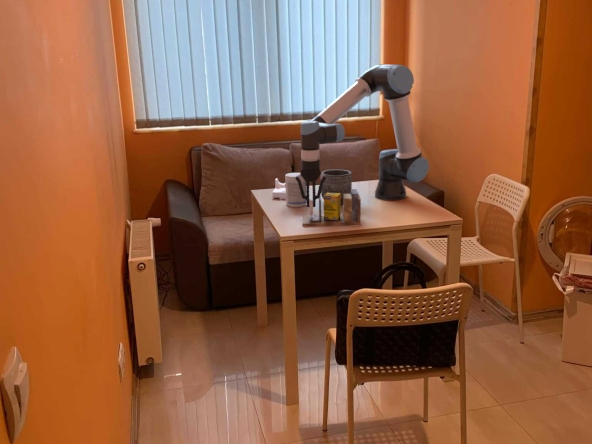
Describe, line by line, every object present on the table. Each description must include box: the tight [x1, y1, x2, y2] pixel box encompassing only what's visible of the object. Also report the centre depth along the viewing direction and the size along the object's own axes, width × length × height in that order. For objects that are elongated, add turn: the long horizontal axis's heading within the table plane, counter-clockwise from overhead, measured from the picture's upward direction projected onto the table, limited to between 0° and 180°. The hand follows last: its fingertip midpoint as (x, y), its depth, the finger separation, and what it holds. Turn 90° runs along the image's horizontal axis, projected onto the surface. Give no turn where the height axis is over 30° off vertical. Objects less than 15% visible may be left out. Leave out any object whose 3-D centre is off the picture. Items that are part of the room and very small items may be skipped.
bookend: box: [309, 195, 322, 222], centre depth 249 cm, size 5×8×9 cm, turn 179°
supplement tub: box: [284, 172, 307, 208], centre depth 275 cm, size 10×10×15 cm
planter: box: [320, 168, 353, 207], centre depth 277 cm, size 14×14×15 cm
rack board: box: [301, 188, 362, 227], centre depth 248 cm, size 24×11×13 cm, turn 89°
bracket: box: [272, 178, 286, 200], centre depth 294 cm, size 13×7×8 cm, turn 174°
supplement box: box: [323, 192, 342, 221], centre depth 248 cm, size 6×6×11 cm
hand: (311, 214), depth 249 cm, fingers closed
